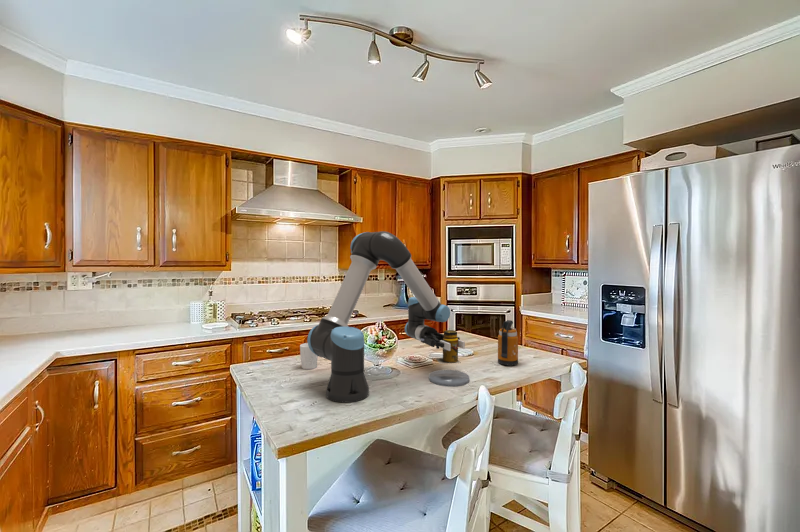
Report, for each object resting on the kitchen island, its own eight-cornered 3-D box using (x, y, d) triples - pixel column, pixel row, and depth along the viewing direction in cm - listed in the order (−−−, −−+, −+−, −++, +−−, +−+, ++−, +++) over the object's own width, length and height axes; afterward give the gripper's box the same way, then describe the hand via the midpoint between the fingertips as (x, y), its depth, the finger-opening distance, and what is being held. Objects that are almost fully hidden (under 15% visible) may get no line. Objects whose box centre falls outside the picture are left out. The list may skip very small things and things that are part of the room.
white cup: (314, 370, 163) (314, 347, 162) (297, 369, 164) (296, 346, 164) (320, 365, 170) (320, 343, 170) (304, 364, 172) (304, 342, 171)
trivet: (424, 383, 146) (424, 379, 146) (434, 371, 161) (434, 368, 161) (465, 388, 141) (465, 384, 141) (471, 375, 156) (471, 372, 156)
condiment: (461, 363, 148) (461, 332, 147) (439, 364, 146) (440, 333, 146) (455, 358, 155) (455, 329, 154) (435, 358, 154) (435, 329, 153)
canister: (520, 362, 175) (520, 319, 174) (513, 368, 166) (514, 323, 165) (501, 359, 180) (501, 318, 179) (493, 365, 170) (494, 321, 170)
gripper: (444, 340, 171) (476, 352, 151) (407, 345, 163) (436, 358, 142) (444, 324, 171) (476, 334, 150) (407, 328, 163) (436, 339, 142)
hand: (456, 346), depth 146 cm, fingers closed on condiment, 6 cm apart
